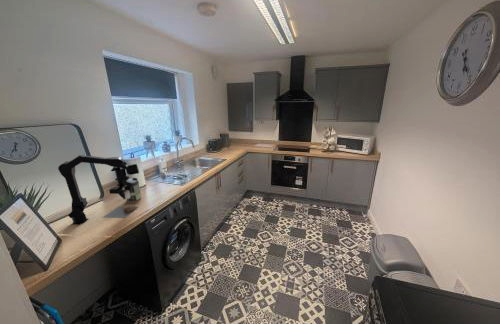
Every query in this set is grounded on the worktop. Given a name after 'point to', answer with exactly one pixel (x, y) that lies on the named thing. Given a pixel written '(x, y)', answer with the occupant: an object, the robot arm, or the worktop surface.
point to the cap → (127, 194)
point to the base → (129, 208)
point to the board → (118, 213)
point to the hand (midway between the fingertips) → (126, 197)
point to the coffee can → (135, 193)
